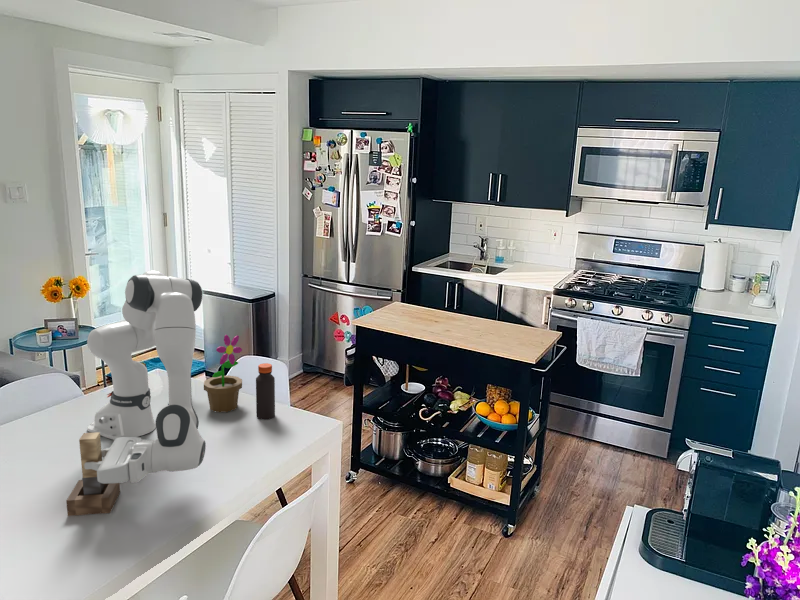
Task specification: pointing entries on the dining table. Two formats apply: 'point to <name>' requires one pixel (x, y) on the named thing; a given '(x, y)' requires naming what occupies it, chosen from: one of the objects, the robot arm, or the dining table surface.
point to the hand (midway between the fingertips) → (88, 460)
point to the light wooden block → (89, 451)
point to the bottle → (265, 392)
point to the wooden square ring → (92, 500)
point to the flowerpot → (224, 380)
